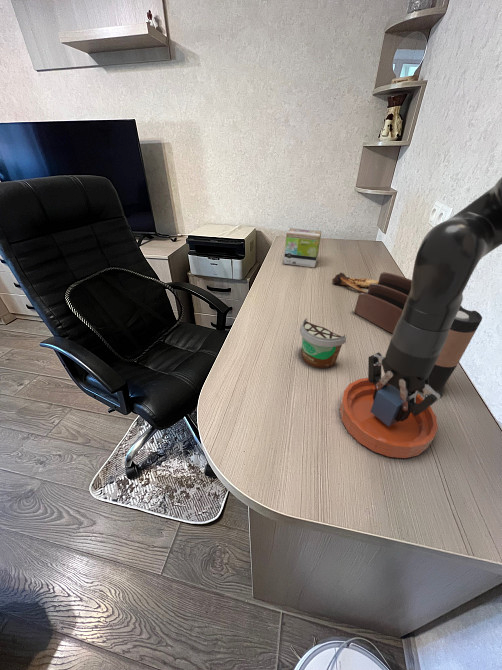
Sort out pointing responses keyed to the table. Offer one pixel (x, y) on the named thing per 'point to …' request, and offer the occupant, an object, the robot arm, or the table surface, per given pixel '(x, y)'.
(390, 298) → the letter holder
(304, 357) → the food container
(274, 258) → the table surface
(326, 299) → the table surface
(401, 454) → the bowl
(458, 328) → the travel mug
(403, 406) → the robot arm
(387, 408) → the block
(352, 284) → the brown wood root
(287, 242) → the tea box
